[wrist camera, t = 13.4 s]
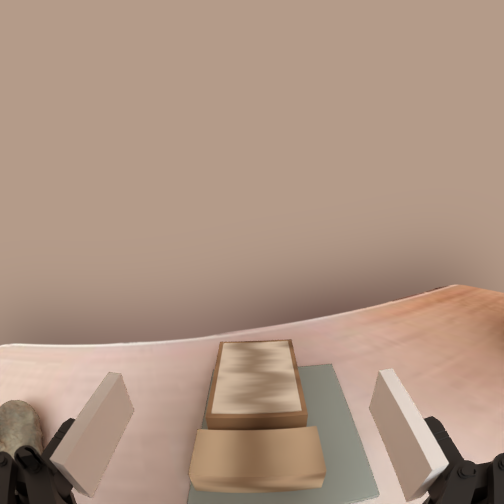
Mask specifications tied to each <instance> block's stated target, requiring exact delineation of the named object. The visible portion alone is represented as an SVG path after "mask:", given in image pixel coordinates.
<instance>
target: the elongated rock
mask: <svg viewBox="0 0 504 504" xmlns="http://www.w3.org/2000/svg"><path fill="white" fill-rule="evenodd" d="M42 434H43V433H42V431H41V428H40V419H39V416H38V415H37V413H36V412H35V410H34V409H33V408H32V407H31V406H30V405H28V404H27V403H26V402H24V401H20V400H15V401H14V400H11V401H8V402H6V403H4V404H3V405H2V406H1V407H0V452H1V451H4V452H7V453H9V454H10V455H11V456H12V458H13V459H14V453H15V451H16V450H17V449H18V448H19V447H21V446H24V445H29V446H32V447H34V448H35V449H36V450H37V452H38V453H39V454H40V456H41V454H42V453H43V446H42V439H41V438H42V437H43V435H42Z"/></svg>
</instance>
